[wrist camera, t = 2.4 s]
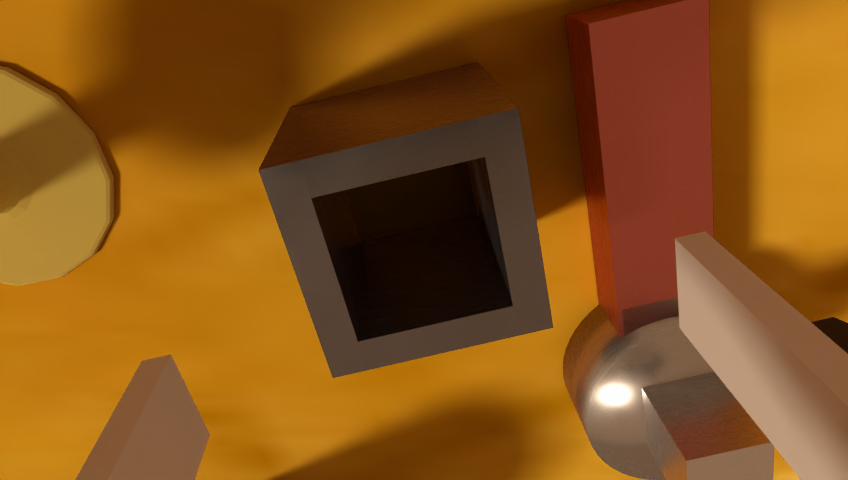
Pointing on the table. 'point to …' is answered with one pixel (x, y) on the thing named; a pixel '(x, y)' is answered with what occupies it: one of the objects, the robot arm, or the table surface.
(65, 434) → the table surface
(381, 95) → the socket
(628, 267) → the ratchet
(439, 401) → the table surface
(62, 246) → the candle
